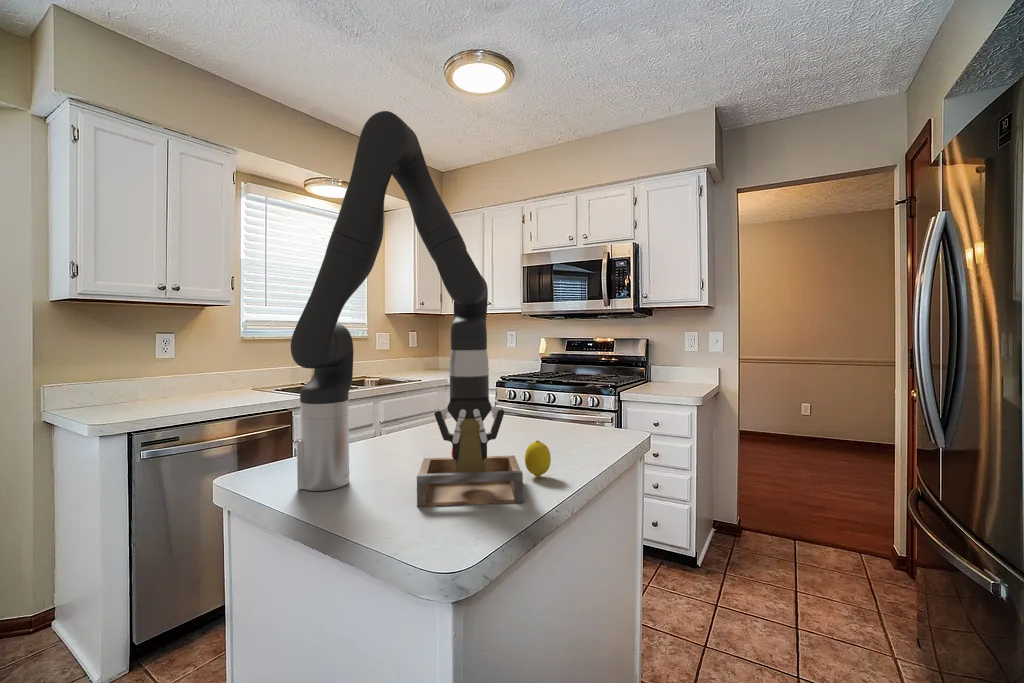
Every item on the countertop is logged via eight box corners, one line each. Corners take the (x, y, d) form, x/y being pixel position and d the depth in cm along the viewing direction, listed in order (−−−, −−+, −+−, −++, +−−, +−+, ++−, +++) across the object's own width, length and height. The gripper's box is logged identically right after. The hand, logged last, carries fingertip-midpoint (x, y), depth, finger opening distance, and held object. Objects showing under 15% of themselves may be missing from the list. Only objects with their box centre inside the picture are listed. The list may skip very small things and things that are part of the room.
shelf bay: (417, 506, 86) (416, 476, 86) (424, 482, 100) (423, 455, 100) (522, 502, 88) (522, 472, 88) (514, 478, 102) (514, 453, 102)
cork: (455, 468, 96) (454, 413, 96) (485, 467, 97) (485, 413, 97) (454, 477, 90) (453, 419, 90) (486, 476, 91) (485, 418, 91)
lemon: (550, 474, 106) (550, 437, 105) (550, 481, 100) (550, 443, 100) (525, 473, 106) (525, 437, 106) (523, 481, 101) (523, 443, 101)
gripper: (430, 375, 89) (431, 468, 89) (507, 374, 90) (508, 465, 90) (433, 372, 96) (434, 457, 97) (504, 371, 98) (505, 455, 98)
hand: (470, 461), depth 94 cm, fingers closed on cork, 4 cm apart
